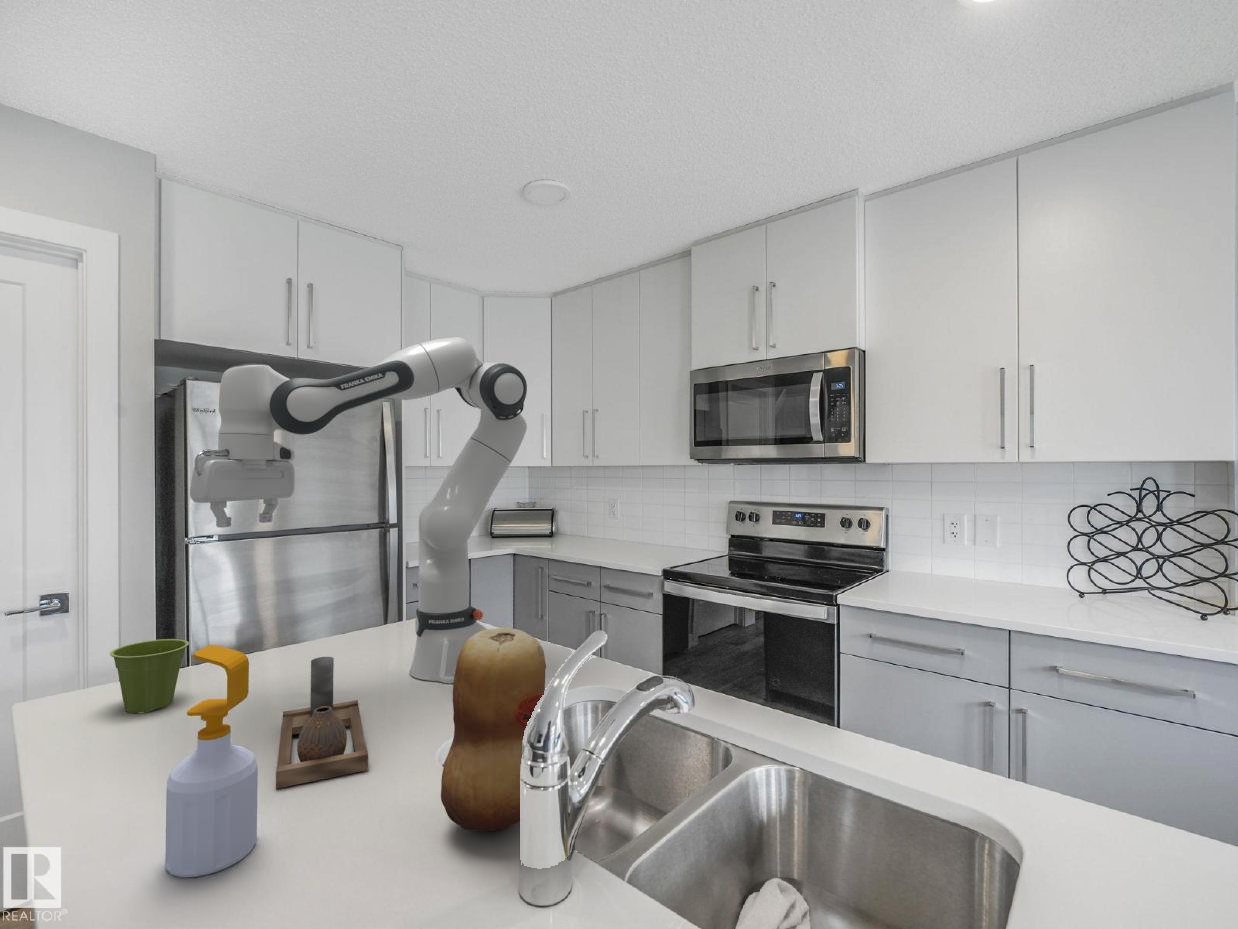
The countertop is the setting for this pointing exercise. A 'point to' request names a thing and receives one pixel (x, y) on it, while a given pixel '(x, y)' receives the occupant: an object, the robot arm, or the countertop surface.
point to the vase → (322, 736)
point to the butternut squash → (491, 727)
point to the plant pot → (149, 673)
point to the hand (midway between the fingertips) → (245, 524)
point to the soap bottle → (213, 784)
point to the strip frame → (299, 717)
